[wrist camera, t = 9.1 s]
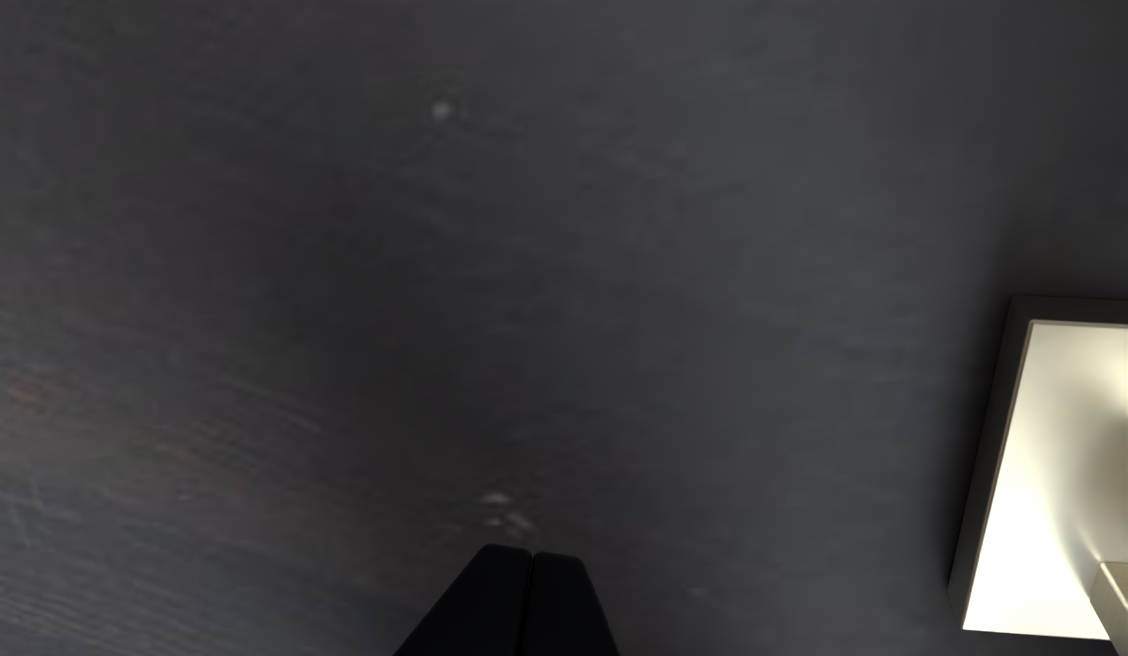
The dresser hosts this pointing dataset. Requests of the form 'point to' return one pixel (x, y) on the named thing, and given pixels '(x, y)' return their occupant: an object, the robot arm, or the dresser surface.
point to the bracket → (1051, 479)
